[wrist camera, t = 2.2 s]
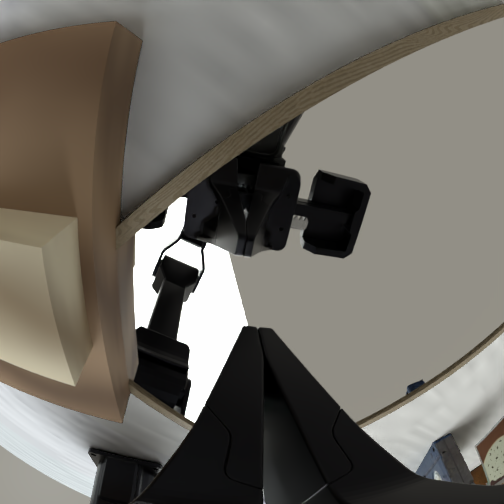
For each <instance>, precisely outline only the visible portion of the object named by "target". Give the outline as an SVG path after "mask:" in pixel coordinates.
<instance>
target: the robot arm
mask: <svg viewBox="0 0 504 504" xmlns="http://www.w3.org/2000/svg"><path fill="white" fill-rule="evenodd" d="M340 408H341V407H340V405H339V404H338V403H337V402H336V401H335V400H334V399H333V398H332V397H331V395H330V394H329V393H328V392H327V391H326V390H325V389H324V388H323V386H322V385H321V384H320V383H319V382H318V381H317V380H316V379H315V377H314V376H313V375H312V374H311V373H310V372H309V371H308V369H307V368H306V367H305V366H304V365H303V364H302V363H301V361H300V360H299V359H298V358H297V357H296V356H295V354H294V353H293V352H292V351H291V350H290V349H289V348H288V346H287V345H286V344H285V343H284V342H283V341H282V339H281V338H280V337H279V336H278V335H277V333H276V332H275V331H274V330H273V329H272V328H265V327H259V328H257V327H255V326H243V327H242V328H241V330H240V333H239V335H238V337H237V339H236V341H235V343H234V345H233V347H232V349H231V351H230V353H229V355H228V357H227V359H226V362H225V364H224V366H223V368H222V370H221V372H220V374H219V376H218V378H217V380H216V382H215V384H214V386H213V388H212V390H211V392H210V394H209V396H208V398H207V400H206V402H205V404H204V406H203V408H202V410H201V412H200V414H199V416H198V417H197V419H196V421H195V423H194V425H193V426H192V428H191V430H190V432H189V433H188V435H187V436H186V437H185V439H184V440H183V442H182V443H181V445H180V446H179V448H178V449H177V450H176V451H175V453H174V454H173V455H172V457H171V458H170V459H169V460H168V462H167V463H166V464H165V466H164V467H163V468H162V465H160V464H157V463H152V462H146V461H141V460H136V459H131V458H127V457H122V456H118V455H114V454H110V453H106V452H103V451H99V450H96V449H92V448H90V449H89V451H88V454H89V455H90V457H91V458H92V460H93V462H94V463H95V465H96V466H97V472H96V476H95V481H94V486H93V491H92V496H91V501H90V504H263V491H262V490H263V489H264V496H265V502H266V504H504V484H501V485H476V484H465V483H456V482H449V481H442V480H435V479H430V478H426V477H423V476H420V475H418V474H416V473H414V472H412V471H411V470H409V469H408V468H407V467H405V466H404V465H403V464H402V463H400V462H399V461H398V460H397V459H396V458H394V457H393V456H392V455H391V454H390V453H388V452H387V451H386V450H385V449H384V448H382V447H381V446H380V445H379V444H378V443H377V442H375V441H374V440H373V439H372V438H371V437H370V436H369V435H368V434H367V433H365V432H364V431H363V430H362V429H361V428H360V427H359V426H358V425H357V424H356V423H355V422H354V421H353V419H352V418H351V417H350V416H349V415H348V414H347V413H346V412H345V411H344V410H343V409H340Z"/></svg>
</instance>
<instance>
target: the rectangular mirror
mask: <svg viewBox="0 0 504 504" xmlns="http://www.w3.org/2000/svg"><path fill="white" fill-rule="evenodd" d="M116 250H117V254H118V282H119V299H120V312H121V323H122V333H123V342H124V350H125V358H126V365H127V372H128V378H129V383H128V385H129V391H130V393H132V394H133V395H134V396H136V397H137V398H139V399H140V400H142V401H143V402H144V403H146V404H147V405H149V406H150V407H152V408H153V409H155V410H156V411H158V412H160V413H161V414H163V415H164V416H166V417H167V418H169V419H171V420H172V421H174V422H176V423H177V424H179V425H181V426H182V427H184V428H186V429H187V430H189V431H190V430H191V428H192V426H193V425H194V423H195V421H196V419H197V417H198V416H199V414H200V412H201V410H202V408H203V406H204V404H205V402H206V400H207V398H208V396H209V394H210V392H211V390H212V388H213V386H214V384H215V382H216V380H217V378H218V376H219V374H220V372H221V370H222V368H223V366H224V364H225V362H226V359H227V357H228V355H229V353H230V351H231V349H232V347H233V345H234V343H235V341H236V339H237V337H238V335H239V333H240V330H241V328H242V327H243V326H255V327H257V328H259V327H265V328H272V329H273V330H274V331H275V332H276V333H277V335H278V336H279V337H280V338H281V339H282V341H283V342H284V343H285V344H286V345H287V346H288V348H289V349H290V350H291V351H292V352H293V353H294V354H295V356H296V357H297V358H298V359H299V360H300V361H301V363H302V364H303V365H304V366H305V367H306V368H307V369H308V371H309V372H310V373H311V374H312V375H313V376H314V377H315V379H316V380H317V381H318V382H319V383H320V384H321V385H322V386H323V388H324V389H325V390H326V391H327V392H328V393H329V394H330V395H331V397H332V398H333V399H334V400H335V401H336V402H337V403H338V404H339V405H340V407H341V408H340V409H343V410H344V411H345V412H346V413H347V414H348V415H349V416H350V417H351V418H352V419H353V421H354V422H355V423H356V424H357V425H358V426H359V427H360V428H363V427H365V426H367V425H369V424H371V423H373V422H375V421H377V420H379V419H380V418H382V417H384V416H386V415H388V414H390V413H392V412H393V411H395V410H397V409H399V408H400V407H402V406H404V405H406V404H407V403H409V402H411V401H412V400H414V399H415V398H417V397H419V396H420V395H422V394H423V393H425V392H427V391H428V390H430V389H431V388H433V387H434V386H436V385H437V384H439V383H440V382H442V381H443V380H444V379H446V378H447V377H449V376H450V375H452V374H453V373H454V372H456V371H457V370H458V369H460V368H461V367H462V366H464V365H465V364H466V363H468V362H469V361H470V360H471V359H473V358H474V357H475V356H477V355H478V354H479V353H480V352H481V351H483V350H484V349H485V348H486V347H487V346H489V345H490V344H491V343H492V342H493V341H494V340H496V339H497V338H498V337H499V336H500V335H501V334H502V333H503V332H504V4H501V5H497V6H493V7H490V8H486V9H482V10H479V11H475V12H472V13H469V14H466V15H463V16H459V17H456V18H454V19H451V20H448V21H445V22H442V23H439V24H437V25H434V26H431V27H429V28H426V29H424V30H421V31H419V32H416V33H414V34H411V35H409V36H406V37H404V38H402V39H399V40H397V41H395V42H393V43H390V44H388V45H386V46H384V47H382V48H380V49H377V50H375V51H373V52H371V53H369V54H367V55H365V56H363V57H361V58H359V59H357V60H355V61H353V62H351V63H349V64H347V65H345V66H343V67H341V68H339V69H338V70H336V71H334V72H332V73H330V74H328V75H327V76H325V77H323V78H321V79H319V80H318V81H316V82H314V83H312V84H311V85H309V86H307V87H305V88H304V89H302V90H300V91H299V92H297V93H295V94H294V95H292V96H290V97H289V98H287V99H285V100H284V101H282V102H280V103H279V104H277V105H276V106H274V107H272V108H271V109H269V110H268V111H266V112H265V113H263V114H262V115H260V116H259V117H257V118H255V119H254V120H252V121H251V122H249V123H248V124H246V125H245V126H244V127H242V128H241V129H239V130H238V131H236V132H235V133H233V134H232V135H230V136H229V137H228V138H226V139H225V140H223V141H222V142H221V143H219V144H218V145H216V146H215V147H214V148H212V149H211V150H210V151H208V152H207V153H205V154H204V155H203V156H201V157H200V158H199V159H197V160H196V161H195V162H194V163H192V164H191V165H190V166H188V167H187V168H186V169H184V170H183V171H182V172H181V173H179V174H178V175H177V176H175V177H174V178H173V179H172V180H170V181H169V182H168V183H167V184H166V185H164V186H163V187H162V188H161V189H159V190H158V191H157V192H156V193H155V194H153V195H152V196H151V197H150V198H149V199H147V200H146V201H145V202H144V203H143V204H142V205H140V206H139V207H138V208H137V209H136V210H135V211H133V212H132V213H131V214H130V215H129V216H128V217H127V218H126V219H124V220H123V221H122V222H121V223H120V224H119V225H118V226H117V227H116Z"/></svg>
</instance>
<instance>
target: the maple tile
mask: <svg viewBox="0 0 504 504" xmlns="http://www.w3.org/2000/svg"><path fill="white" fill-rule="evenodd" d="M92 348H93V344H92V340H91V334H90V329H89V324H88V318H87V312H86V306H85V299H84V292H83V284H82V275H81V266H80V255H79V241H78V221H77V218H76V217H68V216H60V215H52V214H45V213H37V212H29V211H21V210H13V209H5V208H0V359H1V360H3V361H6V362H8V363H11V364H13V365H15V366H18V367H20V368H23V369H25V370H28V371H31V372H33V373H36V374H39V375H42V376H44V377H47V378H50V379H53V380H56V381H59V382H62V383H66V384H69V385H72V386H76V384H77V381H78V379H79V377H80V374H81V372H82V370H83V368H84V365H85V363H86V361H87V359H88V356H89V354H90V352H91V350H92Z"/></svg>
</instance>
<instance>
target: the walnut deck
mask: <svg viewBox="0 0 504 504" xmlns="http://www.w3.org/2000/svg"><path fill="white" fill-rule="evenodd" d="M141 45H142V40H141V39H140V38H138V37H137V36H136V35H134V34H133V33H132V32H130V31H129V30H128V29H126V28H125V27H124V26H122V25H121V24H119V23H118V22H117V21H111V22H100V23H91V24H83V25H76V26H70V27H64V28H58V29H53V30H48V31H43V32H39V33H35V34H31V35H27V36H23V37H19V38H16V39H12V40H9V41H5V42H2V43H0V208H5V209H13V210H21V211H29V212H37V213H45V214H52V215H60V216H68V217H76V218H77V221H78V241H79V255H80V266H81V275H82V284H83V292H84V299H85V306H86V312H87V318H88V324H89V329H90V334H91V340H92V344H93V348H92V350H91V352H90V354H89V356H88V359H87V361H86V363H85V365H84V368H83V370H82V372H81V374H80V377H79V379H78V381H77V384H76V386H72V385H69V384H66V383H62V382H59V381H56V380H53V379H50V378H47V377H44V376H42V375H39V374H36V373H33V372H31V371H28V370H25V369H23V368H20V367H18V366H15V365H13V364H11V363H8V362H6V361H3V360H1V359H0V382H2V383H4V384H7V385H9V386H11V387H13V388H16V389H18V390H20V391H23V392H25V393H27V394H30V395H32V396H35V397H37V398H40V399H43V400H45V401H48V402H51V403H54V404H56V405H59V406H62V407H65V408H68V409H71V410H75V411H78V412H81V413H84V414H88V415H91V416H95V417H99V418H102V419H106V420H110V421H114V422H119V423H123V419H124V415H125V411H126V407H127V403H128V400H129V396H130V391H129V385H128V383H129V378H128V372H127V365H126V358H125V350H124V342H123V333H122V323H121V312H120V299H119V282H118V254H117V250H116V227H117V226H118V225H119V224H120V213H121V189H122V173H123V161H124V150H125V140H126V132H127V124H128V116H129V109H130V103H131V96H132V90H133V85H134V79H135V74H136V69H137V64H138V59H139V54H140V50H141Z"/></svg>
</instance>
